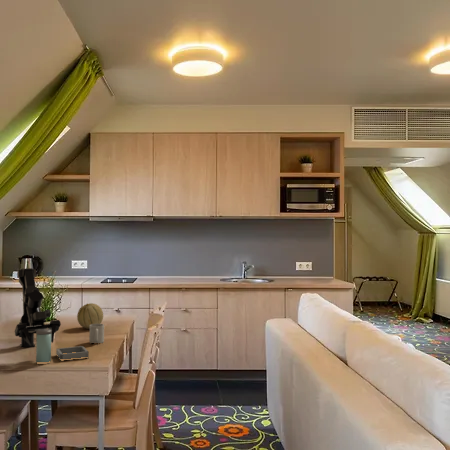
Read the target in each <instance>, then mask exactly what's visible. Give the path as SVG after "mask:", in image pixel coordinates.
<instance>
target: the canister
mask: <svg viewBox="0 0 450 450" xmlns="http://www.w3.org/2000/svg"><path fill="white" fill-rule="evenodd" d="M51 333H52V330H51V329H40V330H37V331H36V333H35V334H36V343H35V348H36V349H35V351H36V352H35V363H36V362H49V361H51V362H52V342H51Z"/></svg>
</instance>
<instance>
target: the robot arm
mask: <svg viewBox="0 0 450 450" xmlns="http://www.w3.org/2000/svg"><path fill="white" fill-rule="evenodd" d="M16 273H17V274H16V275H17V278H18V282H19V284H20V286H22V313H23V314H22V316H21V318H20V320H19V322H18V323H17V324H16V326H15V329H14V336H15V337H18V338H21V339H20V340H21V341H20V342H21V343H20V344H19V347H20V348H21V347H24V348H32V347H35V348H36V343H35V342H34V341H35V336H34V335H35V334H36V331H37V330H40V329H51V330H52V333H51V344H53V343H54V339H55V334H56V332H58V331H59V329H60V327H61V325H62V323H61V320H60V319H53V320H50V322H49V323H46V322H47V321H46V319H48V318H50V317H51V315H52V314H51V310H50V309H45V310H41V307H42V303H43V300H44V295H43V294H42V292H40V289H39V287H37V286H36V279H35V278H36V277H37V270H36V269H35V268H33V267H29V268H27V267H26V268H19V269H18V270H17V272H16ZM45 323H46V324H45Z"/></svg>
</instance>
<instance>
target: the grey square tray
mask: <svg viewBox="0 0 450 450" xmlns="http://www.w3.org/2000/svg"><path fill="white" fill-rule="evenodd" d="M55 351H56V353H55V354H57V355H58V357H59V358H60V359H71V358H81V357H88V358H89V357H90V356H89V350H88V349H86V347H84V345H79V346H69V347H59V348H56V350H55ZM72 352H76V353H72ZM63 353H67V354H63ZM57 355H56V356H57ZM58 357H57V358H58ZM59 358H58V359H59Z"/></svg>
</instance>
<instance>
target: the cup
mask: <svg viewBox="0 0 450 450" xmlns="http://www.w3.org/2000/svg"><path fill="white" fill-rule="evenodd" d="M88 336H89V338H88V340H89V344H91V343H101V344H103V343H104V342H105V324H104V323H101V324H91V325H90V329H89V335H88Z"/></svg>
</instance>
